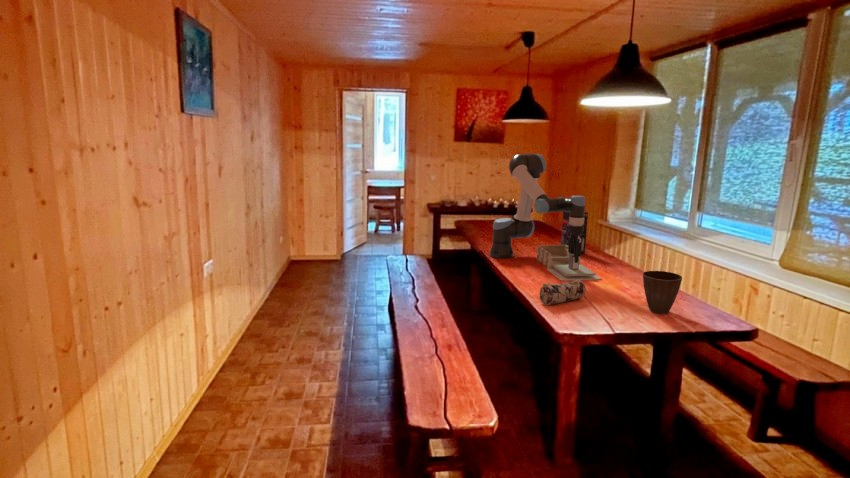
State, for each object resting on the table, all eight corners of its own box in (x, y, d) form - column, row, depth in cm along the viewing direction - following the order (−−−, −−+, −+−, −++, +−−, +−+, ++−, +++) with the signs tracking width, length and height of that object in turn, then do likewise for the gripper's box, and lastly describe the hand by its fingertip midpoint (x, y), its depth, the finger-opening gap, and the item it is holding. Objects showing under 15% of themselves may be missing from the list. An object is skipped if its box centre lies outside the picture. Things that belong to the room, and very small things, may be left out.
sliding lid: (552, 266, 269) (553, 250, 268) (579, 265, 271) (581, 249, 269) (566, 276, 250) (567, 259, 248) (595, 275, 251) (596, 258, 250)
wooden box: (536, 259, 294) (537, 245, 292) (565, 258, 295) (565, 244, 293) (549, 268, 272) (549, 253, 270) (579, 268, 274) (580, 253, 272)
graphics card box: (559, 249, 322) (562, 208, 317) (567, 248, 325) (570, 208, 319) (577, 254, 307) (580, 212, 301) (586, 253, 310) (588, 211, 304)
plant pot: (640, 314, 201) (644, 278, 198) (638, 303, 214) (641, 269, 211) (680, 319, 196) (684, 281, 192) (675, 307, 209) (679, 272, 206)
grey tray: (560, 280, 249) (561, 279, 249) (546, 269, 270) (546, 268, 270) (601, 279, 251) (601, 278, 251) (584, 268, 273) (584, 267, 272)
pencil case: (550, 308, 209) (551, 286, 207) (537, 302, 216) (538, 281, 214) (587, 300, 219) (588, 279, 217) (573, 295, 226) (574, 275, 224)
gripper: (589, 227, 247) (586, 271, 252) (576, 222, 264) (573, 263, 269) (575, 227, 247) (572, 271, 251) (563, 222, 263) (560, 263, 268)
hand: (573, 267), depth 260 cm, fingers closed on sliding lid, 4 cm apart
